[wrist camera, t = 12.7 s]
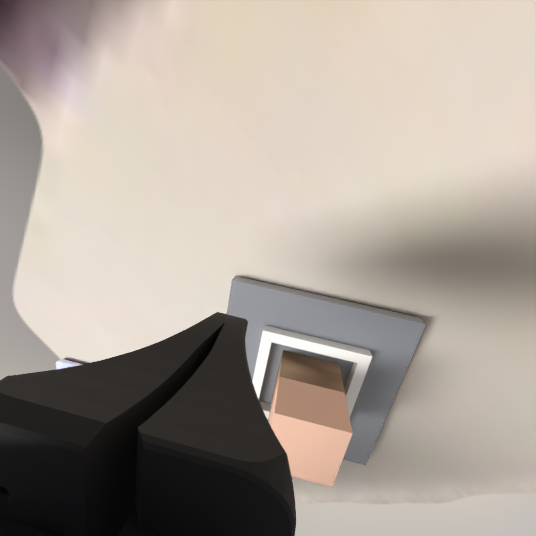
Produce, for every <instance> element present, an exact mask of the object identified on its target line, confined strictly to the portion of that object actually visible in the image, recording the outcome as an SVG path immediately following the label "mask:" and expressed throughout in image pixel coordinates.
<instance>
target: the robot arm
mask: <svg viewBox="0 0 536 536" xmlns="http://www.w3.org/2000/svg"><path fill="white" fill-rule="evenodd" d="M247 326H248V321H247V320H246V319H244V318H240V317H236V316H231V315H227V314H223V313H219V312H217V313H215V314H213V315H211V316H210V317H208V318H206V319H204V320H203V321H201V322H199V323H197V324H195V325H193V326H192V327H190V328H188V329H186V330H184V331H182V332H180V333H178V334H176V335H173V336H171V337H169V338H167V339H165V340H163V341H160V342H158V343H155V344H153V345H150V346H147V347H145V348H142V349H139V350H136V351H133V352H130V353H126V354H123V355H119V356H116V357H112V358H109V359H105V360H101V361H97V362H92V363H88V364H80V363H76V362H72V361H68V360H64V359H60V360H59V361H57V362H56V370H50V371H43V372H36V373H28V374H22V375H13V376H7V377H5V378H3V379H2V380H0V536H294V535H295V528H296V510H295V498H294V489H293V483H292V477H291V471H290V466H289V461H288V456H287V453H286V452H285V450H284V448H283V447H282V445H281V444H280V442H279V440H278V438H277V437H276V435H275V433H274V431H273V430H272V428H271V426H270V424H269V422H268V420H267V418H266V416H265V413H264V411H263V409H262V406H261V404H260V401H259V399H258V397H257V394H256V391H255V388H254V385H253V382H252V379H251V375H250V371H249V366H248V361H247V355H246V345H245V336H246V331H247Z"/></svg>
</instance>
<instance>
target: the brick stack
mask: <svg viewBox="0 0 536 536" xmlns="http://www.w3.org/2000/svg"><path fill="white" fill-rule="evenodd" d="M268 422H269V424H270V426H271V428H272V430H273V431H274V433H275V435H276V437H277V438H278V440H279V442H280V444H281V445H282V447H283V448H284V450H285V452H286V453H287V456H288V461H289V466H290V471H291V476H293V477H296V478H300V479H304V480H307V481H311V482H315V483H318V484H322V485H325V486H329V487H332V486H333V484H334V481H335V479H336V476H337V473H338V471H339V468H340V465H341V463H342V460H343V458H344V455H345V452H346V450H347V447H348V444H349V442H350V439H351V436H352V434H353V432H352V427H351V422H350V417H349V412H348V407H347V401H346V396H345V391H344V386H343V381H342V375H341V370H340V365H339V364H338V363H334V362H330V361H326V360H322V359H317V358H313V357H309V356H305V355H301V354H297V353H292V352H288V351H284V350H283V352H282V356H281V361H280V365H279V369H278V373H277V378H276V382H275V386H274V390H273V395H272V401H271V407H270V413H269V420H268Z"/></svg>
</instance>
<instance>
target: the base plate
mask: <svg viewBox="0 0 536 536" xmlns="http://www.w3.org/2000/svg"><path fill="white" fill-rule="evenodd" d="M227 315H231V316H236V317H240V318H244V319H246V320H247V321H248V326H247V331H246V336H245V345H246V355H247V361H248V366H249V371H250V375H251V379H252V382H253V385H254V388H255V391H256V394H257V397H258V399H259V401H260V404H261V406H262V409H263V411H264V413H265V416H266V418H267V420H269V413H270V407H271V401H272V395H273V390H274V386H275V382H276V378H277V373H278V369H279V365H280V361H281V356H282V352H283V350H284V351H288V352H292V353H297V354H301V355H305V356H309V357H313V358H317V359H322V360H326V361H330V362H334V363H338V364H339V365H340V370H341V375H342V381H343V386H344V391H345V396H346V401H347V407H348V412H349V417H350V422H351V427H352V432H353V434H352V436H351V439H350V442H349V444H348V447H347V450H346V452H345V455H344V458H343V459H346V460H349V461H353V462H357V463H360V464H364V465H366V463H367V461H368V458H369V456H370V454H371V451H372V449H373V447H374V444H375V442H376V440H377V437H378V435H379V433H380V431H381V428H382V426H383V424H384V421H385V419H386V417H387V414H388V412H389V410H390V407H391V405H392V403H393V400H394V398H395V396H396V393H397V391H398V389H399V386H400V384H401V382H402V379H403V377H404V375H405V372H406V370H407V368H408V365H409V363H410V361H411V358H412V356H413V354H414V351H415V349H416V347H417V344H418V342H419V340H420V337H421V335H422V333H423V330H424V328H425V326H426V324H425V323H424V321H423V320H422V319H421V318H420V317H415V316H411V315H406V314H402V313H398V312H393V311H389V310H384V309H380V308H375V307H371V306H367V305H362V304H358V303H353V302H349V301H345V300H340V299H336V298H331V297H327V296H322V295H318V294H314V293H309V292H305V291H300V290H296V289H291V288H287V287H283V286H278V285H274V284H269V283H265V282H261V281H256V280H252V279H247V278H243V277H238V276H235V277H234V278H233V280H232V284H231V290H230V297H229V303H228V310H227Z"/></svg>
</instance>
